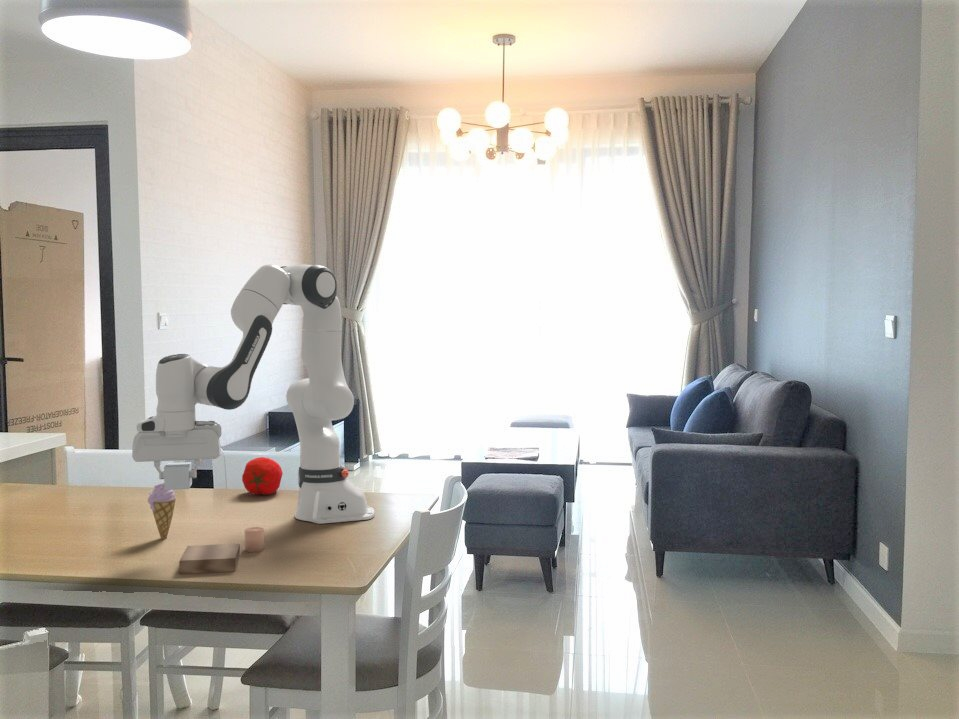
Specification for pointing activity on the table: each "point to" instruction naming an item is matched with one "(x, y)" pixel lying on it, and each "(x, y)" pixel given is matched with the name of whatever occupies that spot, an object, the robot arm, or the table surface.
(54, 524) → the table surface
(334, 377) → the robot arm
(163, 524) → the ice cream cone
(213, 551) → the walnut plinth
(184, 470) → the white cube
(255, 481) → the tomato
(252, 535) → the peach rounded block
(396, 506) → the table surface
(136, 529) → the table surface
